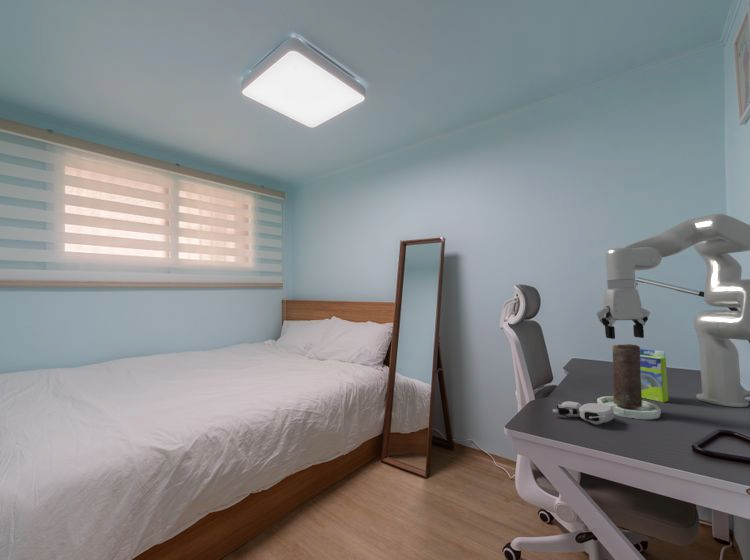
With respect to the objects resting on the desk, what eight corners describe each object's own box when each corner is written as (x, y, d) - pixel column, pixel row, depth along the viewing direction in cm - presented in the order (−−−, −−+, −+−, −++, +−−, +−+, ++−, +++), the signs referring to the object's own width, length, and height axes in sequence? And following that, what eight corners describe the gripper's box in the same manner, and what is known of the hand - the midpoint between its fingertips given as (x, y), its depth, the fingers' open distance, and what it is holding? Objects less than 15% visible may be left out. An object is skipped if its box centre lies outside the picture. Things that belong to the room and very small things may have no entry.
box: (629, 395, 124) (626, 348, 125) (634, 393, 126) (632, 347, 127) (663, 403, 114) (660, 352, 115) (669, 401, 116) (666, 351, 117)
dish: (631, 402, 116) (630, 395, 116) (674, 418, 100) (674, 411, 100) (586, 403, 115) (586, 396, 115) (623, 420, 99) (623, 412, 99)
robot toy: (551, 420, 102) (609, 431, 91) (549, 405, 102) (607, 413, 91) (564, 411, 110) (619, 419, 99) (563, 397, 111) (617, 403, 100)
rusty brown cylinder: (649, 411, 103) (645, 346, 104) (625, 411, 104) (621, 346, 105) (630, 403, 111) (627, 343, 112) (608, 403, 111) (605, 343, 112)
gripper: (636, 285, 114) (640, 335, 113) (588, 286, 113) (591, 337, 112) (656, 284, 106) (660, 338, 105) (604, 285, 105) (607, 340, 104)
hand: (624, 337), depth 109 cm, fingers open, 9 cm apart
